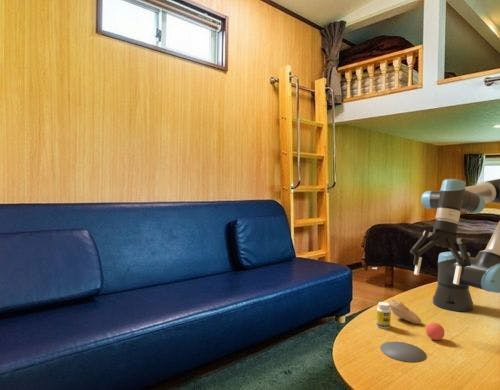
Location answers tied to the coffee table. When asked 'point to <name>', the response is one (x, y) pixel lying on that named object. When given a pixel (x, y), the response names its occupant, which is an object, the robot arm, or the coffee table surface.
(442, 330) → the ball
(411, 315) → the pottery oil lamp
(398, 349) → the disc
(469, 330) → the coffee table surface
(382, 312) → the supplement bottle
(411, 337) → the coffee table surface
